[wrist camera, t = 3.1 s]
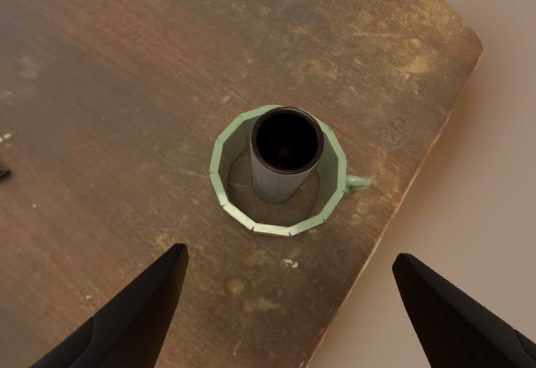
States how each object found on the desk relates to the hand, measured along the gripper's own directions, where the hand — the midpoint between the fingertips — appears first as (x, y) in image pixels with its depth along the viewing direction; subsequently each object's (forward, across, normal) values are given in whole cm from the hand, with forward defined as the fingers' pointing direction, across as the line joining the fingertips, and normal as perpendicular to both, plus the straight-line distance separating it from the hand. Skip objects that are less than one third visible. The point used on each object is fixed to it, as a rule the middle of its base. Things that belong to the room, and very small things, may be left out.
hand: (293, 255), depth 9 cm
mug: (+13, -1, +4) cm, 14 cm away
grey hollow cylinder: (+14, 0, +4) cm, 14 cm away
